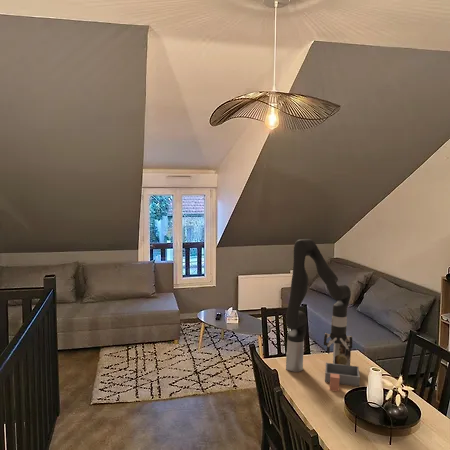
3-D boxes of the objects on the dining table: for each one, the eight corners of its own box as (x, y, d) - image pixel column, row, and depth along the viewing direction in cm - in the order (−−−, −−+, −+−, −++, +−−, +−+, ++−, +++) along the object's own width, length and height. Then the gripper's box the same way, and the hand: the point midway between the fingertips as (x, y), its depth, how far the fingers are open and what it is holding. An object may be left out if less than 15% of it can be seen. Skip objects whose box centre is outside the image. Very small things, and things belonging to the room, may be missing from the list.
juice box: (329, 390, 225) (330, 377, 224) (329, 386, 229) (330, 373, 228) (338, 391, 224) (339, 378, 223) (338, 387, 228) (339, 374, 227)
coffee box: (348, 363, 257) (349, 337, 255) (350, 368, 251) (351, 341, 249) (332, 362, 258) (333, 336, 256) (334, 367, 252) (335, 340, 250)
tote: (324, 381, 234) (325, 373, 233) (325, 371, 247) (325, 362, 246) (359, 386, 229) (359, 377, 229) (357, 375, 242) (358, 366, 242)
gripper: (324, 324, 221) (323, 355, 223) (353, 327, 218) (352, 359, 220) (324, 320, 228) (323, 350, 230) (353, 323, 225) (351, 353, 227)
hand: (337, 354), depth 225 cm, fingers open, 8 cm apart
